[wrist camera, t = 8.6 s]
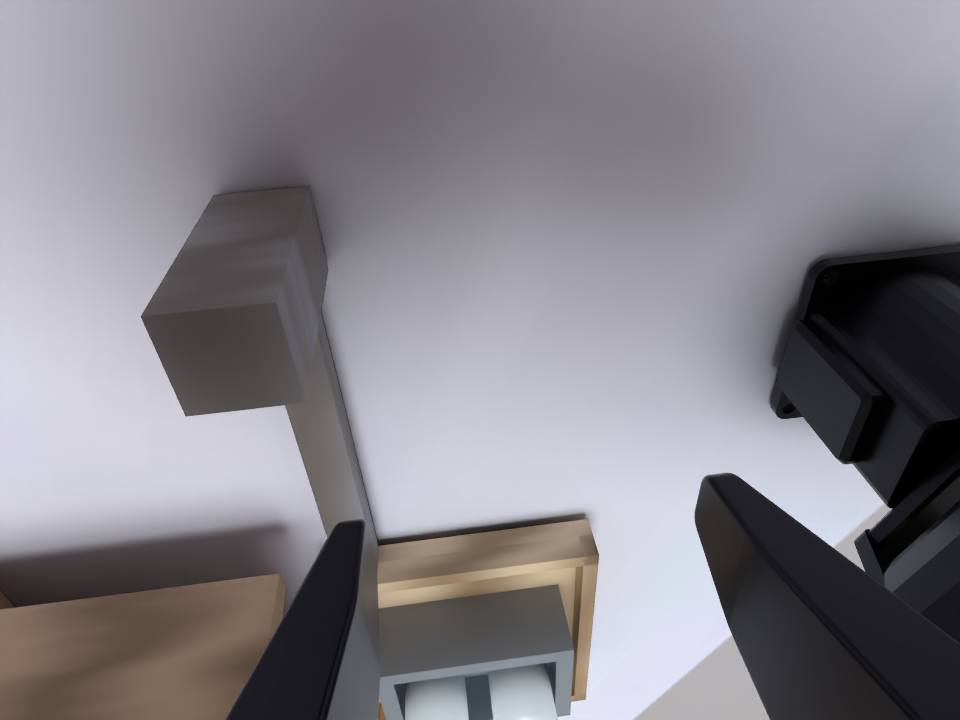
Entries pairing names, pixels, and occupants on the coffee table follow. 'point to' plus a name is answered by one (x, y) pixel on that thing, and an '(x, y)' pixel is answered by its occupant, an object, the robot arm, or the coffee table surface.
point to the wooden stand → (137, 652)
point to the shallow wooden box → (329, 402)
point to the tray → (477, 657)
